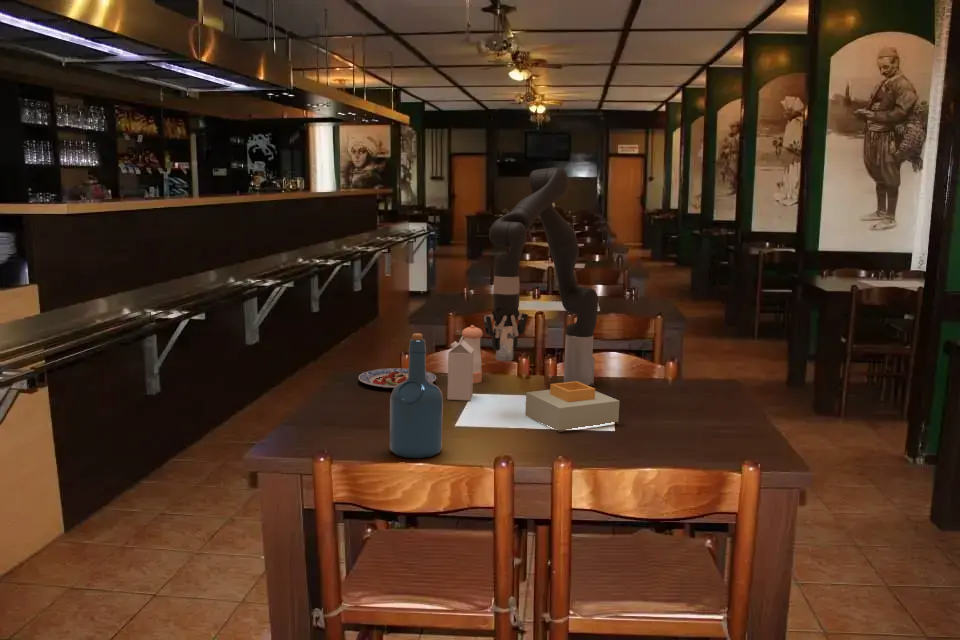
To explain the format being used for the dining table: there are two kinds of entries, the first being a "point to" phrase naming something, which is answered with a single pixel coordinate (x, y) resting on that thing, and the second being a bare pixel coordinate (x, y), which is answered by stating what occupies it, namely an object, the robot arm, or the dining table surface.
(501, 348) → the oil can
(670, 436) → the dining table surface
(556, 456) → the dining table surface
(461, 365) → the milk carton
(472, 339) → the pepper shaker
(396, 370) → the ceramic plate
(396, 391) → the wine bottle
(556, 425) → the slab with orange tray
